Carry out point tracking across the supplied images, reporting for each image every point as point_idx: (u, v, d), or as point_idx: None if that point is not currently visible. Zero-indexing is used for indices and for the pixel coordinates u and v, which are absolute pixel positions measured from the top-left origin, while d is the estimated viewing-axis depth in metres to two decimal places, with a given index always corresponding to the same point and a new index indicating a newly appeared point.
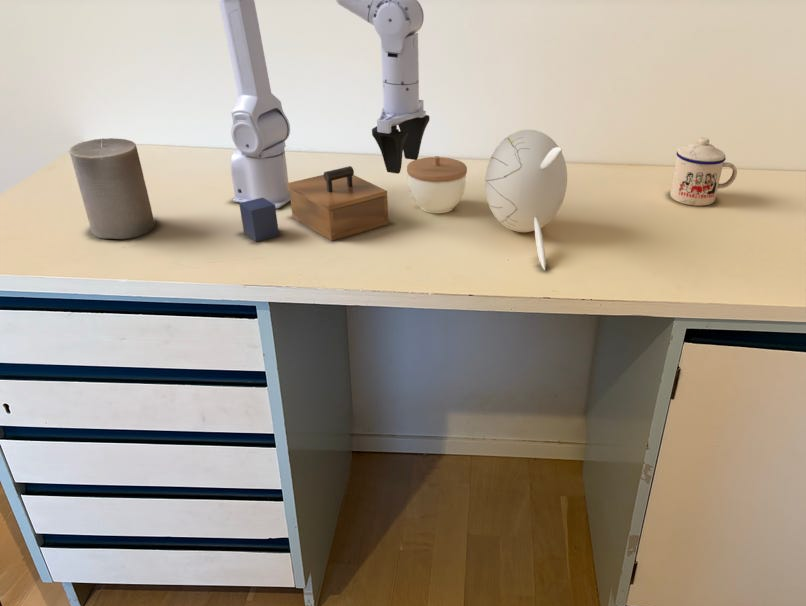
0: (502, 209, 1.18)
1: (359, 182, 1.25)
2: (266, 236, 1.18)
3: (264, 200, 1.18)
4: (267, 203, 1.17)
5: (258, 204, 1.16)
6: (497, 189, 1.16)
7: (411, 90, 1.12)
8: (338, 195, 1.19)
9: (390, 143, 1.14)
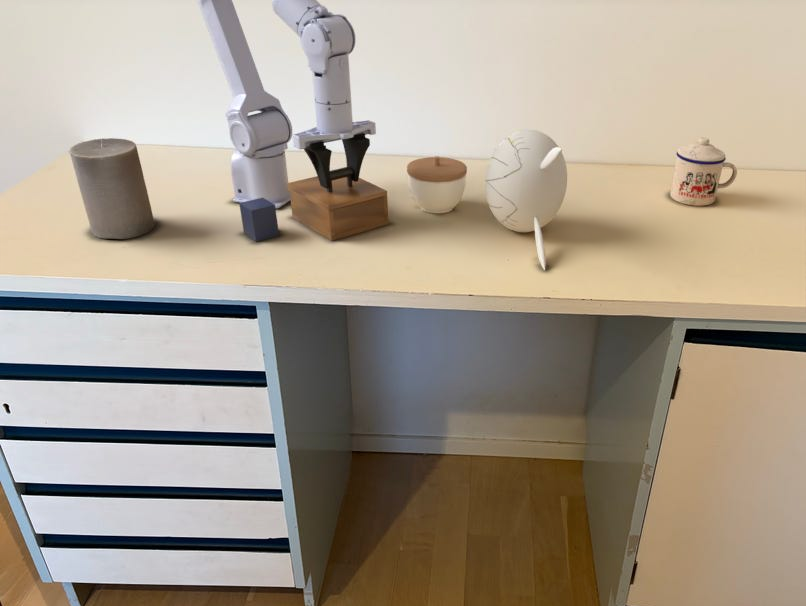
0: (502, 209, 1.18)
1: (359, 182, 1.25)
2: (266, 236, 1.18)
3: (264, 200, 1.18)
4: (267, 203, 1.17)
5: (258, 204, 1.16)
6: (497, 189, 1.16)
7: (334, 110, 1.12)
8: (338, 195, 1.19)
9: None
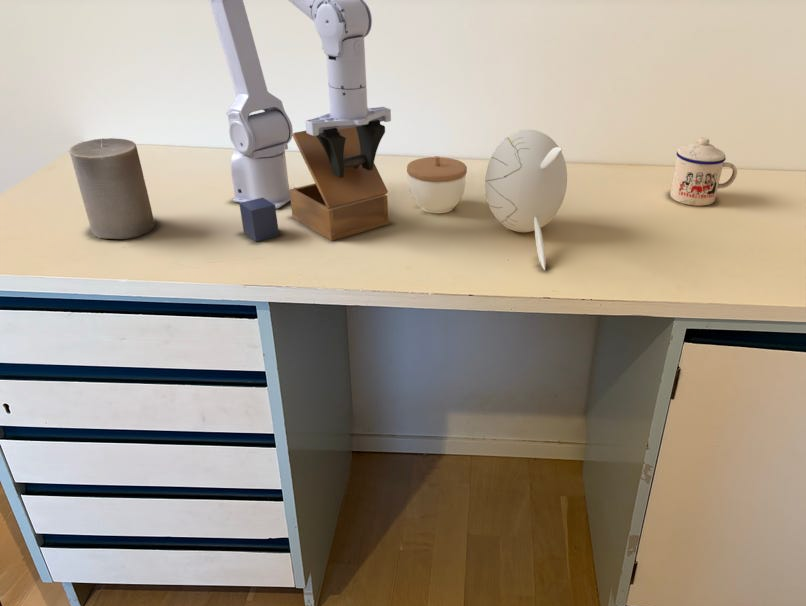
0: (502, 209, 1.18)
1: None
2: (266, 236, 1.18)
3: (264, 200, 1.18)
4: (267, 203, 1.17)
5: (258, 204, 1.16)
6: (497, 189, 1.16)
7: (348, 95, 1.07)
8: (341, 186, 1.17)
9: None
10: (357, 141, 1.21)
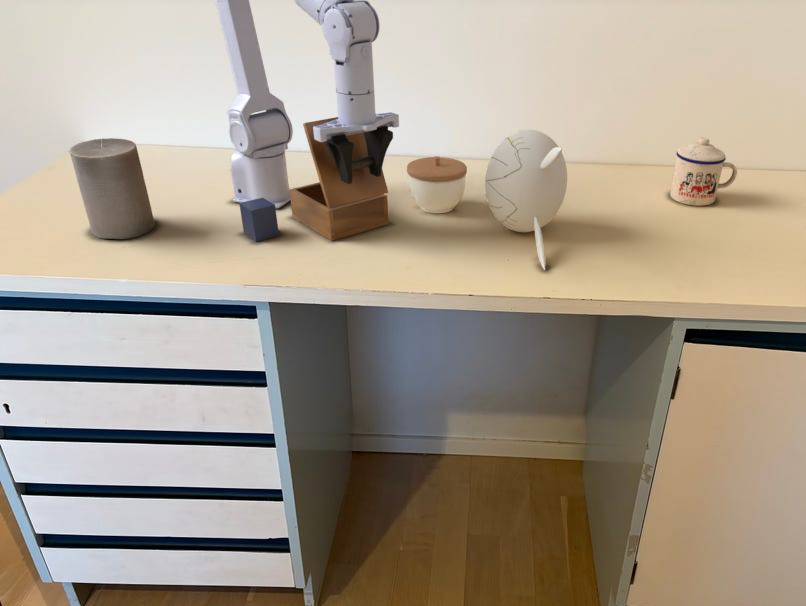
0: (502, 209, 1.18)
1: None
2: (266, 236, 1.18)
3: (264, 200, 1.18)
4: (267, 203, 1.17)
5: (258, 204, 1.16)
6: (497, 189, 1.16)
7: (356, 101, 1.06)
8: (344, 185, 1.16)
9: None
10: None
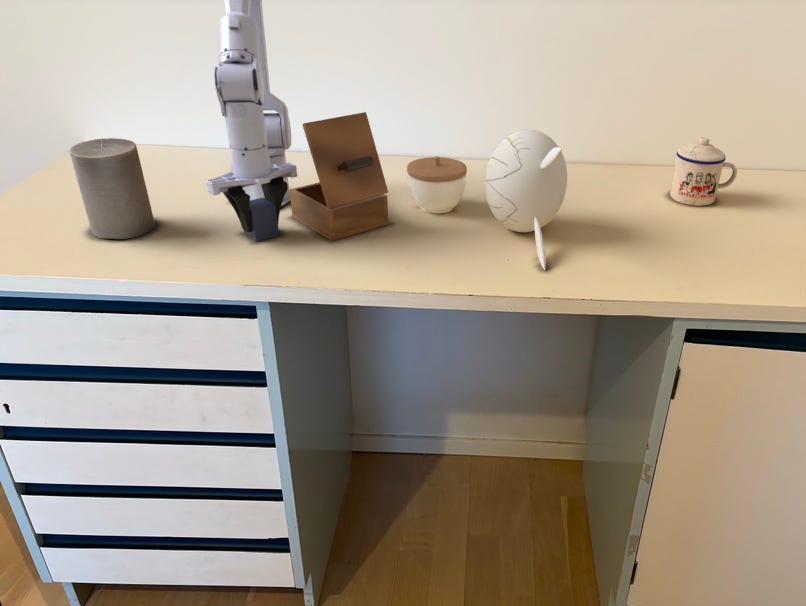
0: (502, 209, 1.18)
1: (371, 156, 1.19)
2: (266, 236, 1.18)
3: (264, 200, 1.18)
4: (268, 203, 1.17)
5: (258, 204, 1.16)
6: (497, 189, 1.16)
7: (248, 156, 1.09)
8: (344, 185, 1.16)
9: None
10: (366, 135, 1.18)
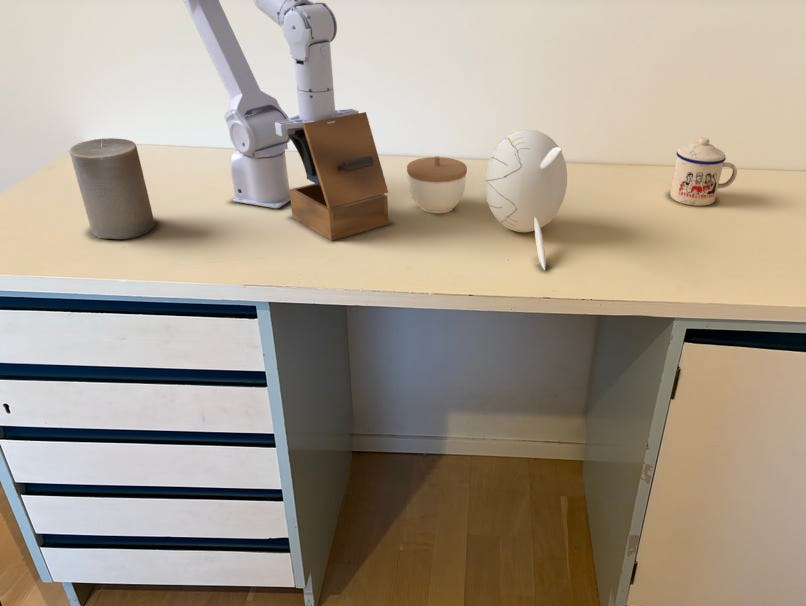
0: (502, 209, 1.18)
1: (371, 156, 1.19)
2: None
3: None
4: None
5: None
6: (497, 189, 1.16)
7: (315, 98, 1.12)
8: (344, 185, 1.16)
9: None
10: (366, 135, 1.18)
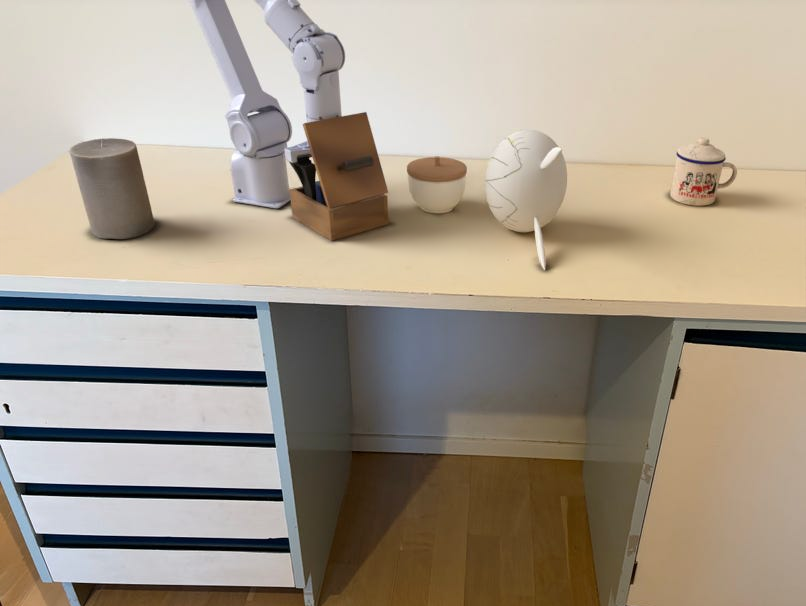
0: (502, 209, 1.18)
1: (372, 156, 1.19)
2: None
3: None
4: None
5: None
6: (497, 189, 1.16)
7: None
8: (344, 185, 1.16)
9: None
10: (366, 135, 1.18)
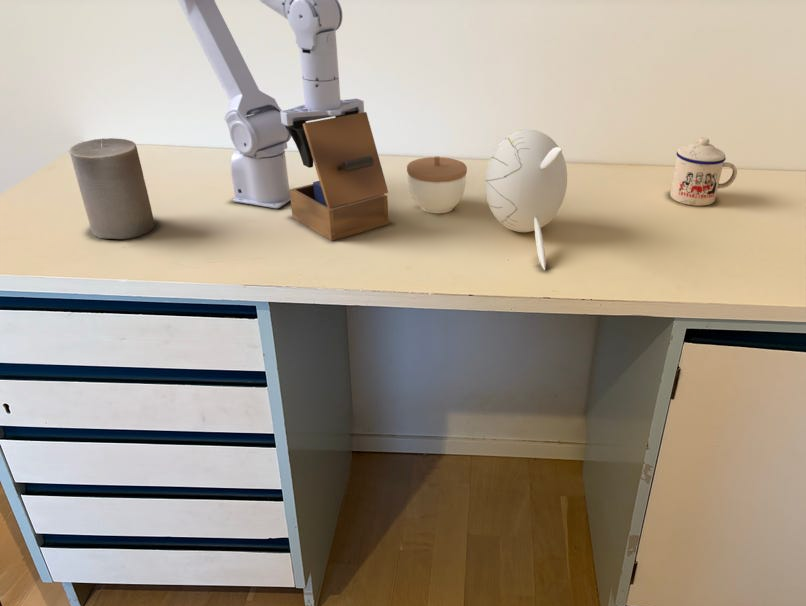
0: (502, 209, 1.18)
1: (372, 156, 1.19)
2: None
3: None
4: None
5: None
6: (497, 189, 1.16)
7: (321, 87, 1.12)
8: (344, 185, 1.16)
9: None
10: (366, 135, 1.18)
